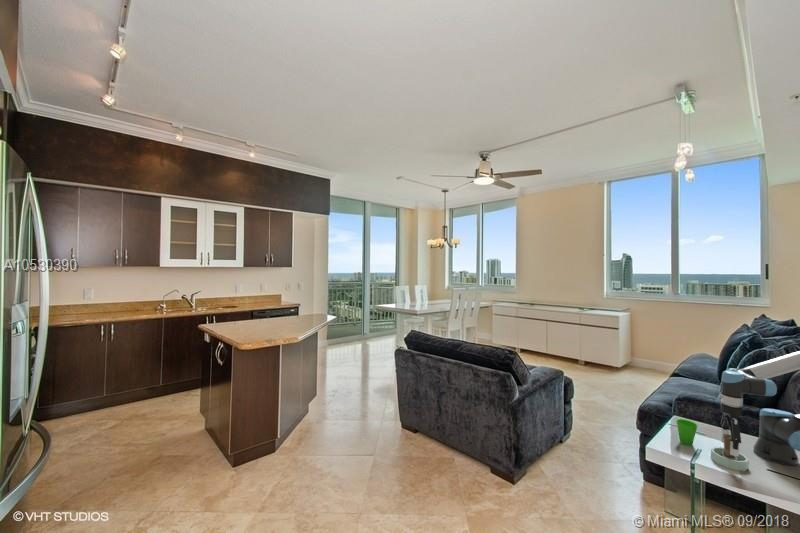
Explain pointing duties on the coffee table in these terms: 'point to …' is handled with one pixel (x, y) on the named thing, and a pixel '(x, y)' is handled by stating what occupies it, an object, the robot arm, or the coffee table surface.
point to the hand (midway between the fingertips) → (729, 448)
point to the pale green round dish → (729, 459)
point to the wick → (727, 445)
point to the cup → (686, 431)
